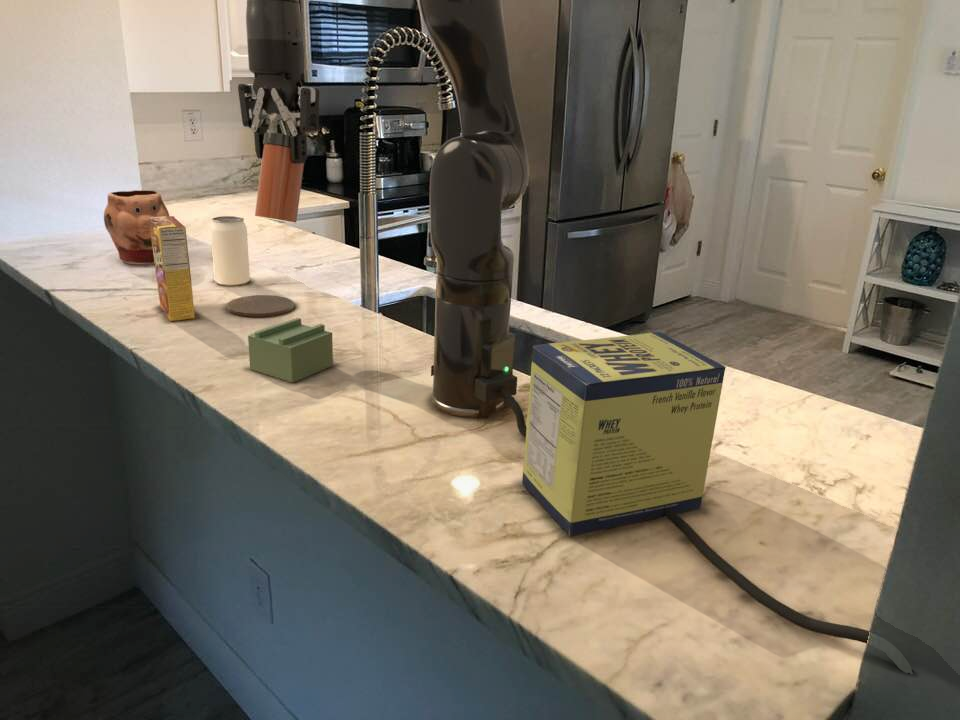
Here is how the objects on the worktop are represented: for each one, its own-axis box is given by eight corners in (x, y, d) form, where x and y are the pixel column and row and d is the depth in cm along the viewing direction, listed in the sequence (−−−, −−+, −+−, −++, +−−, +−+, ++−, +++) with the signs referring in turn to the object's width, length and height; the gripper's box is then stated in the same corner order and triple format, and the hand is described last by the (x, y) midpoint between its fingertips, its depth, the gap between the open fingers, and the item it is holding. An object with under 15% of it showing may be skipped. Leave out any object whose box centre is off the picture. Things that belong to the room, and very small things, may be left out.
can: (239, 287, 142) (235, 223, 137) (207, 284, 143) (202, 220, 138) (256, 279, 148) (252, 217, 143) (225, 276, 149) (221, 214, 144)
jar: (285, 141, 116) (254, 131, 110) (317, 143, 113) (286, 133, 107) (275, 220, 117) (244, 214, 112) (306, 224, 114) (275, 218, 109)
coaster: (306, 306, 133) (306, 302, 133) (259, 321, 124) (259, 317, 124) (261, 294, 138) (261, 291, 138) (213, 308, 129) (212, 304, 129)
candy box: (157, 306, 129) (147, 216, 123) (184, 304, 131) (175, 215, 125) (167, 322, 121) (158, 227, 116) (195, 318, 124) (187, 225, 118)
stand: (333, 365, 107) (332, 326, 105) (292, 383, 101) (290, 342, 99) (291, 353, 111) (290, 315, 109) (249, 369, 105) (247, 329, 103)
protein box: (703, 509, 76) (729, 364, 71) (568, 539, 70) (585, 383, 65) (643, 461, 85) (661, 330, 80) (518, 484, 79) (529, 343, 74)
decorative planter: (94, 252, 161) (85, 186, 156) (152, 246, 169) (146, 182, 164) (128, 273, 147) (120, 200, 142) (190, 265, 155) (184, 196, 150)
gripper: (218, 35, 106) (227, 158, 112) (293, 36, 99) (298, 167, 105) (259, 38, 112) (265, 155, 118) (332, 39, 105) (335, 163, 111)
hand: (281, 160), depth 112 cm, fingers closed on jar, 6 cm apart
